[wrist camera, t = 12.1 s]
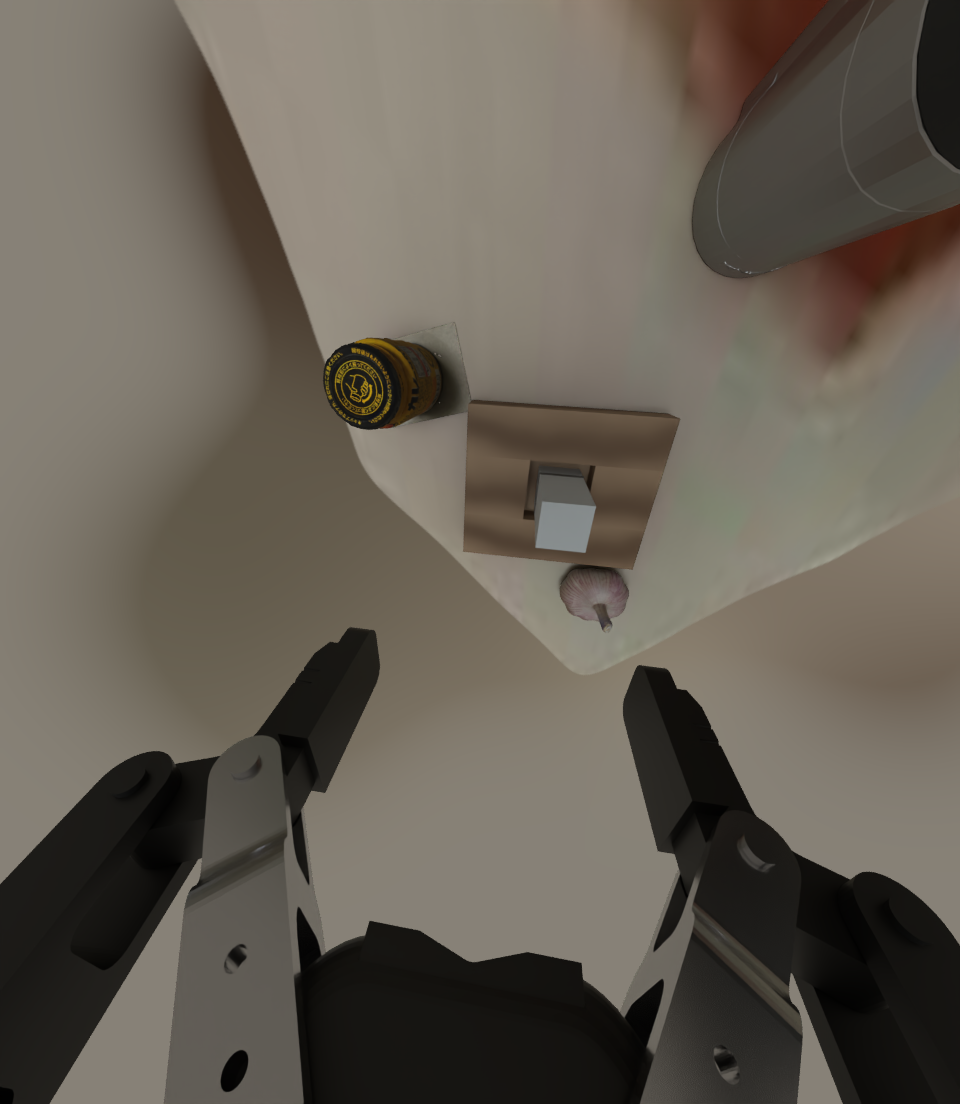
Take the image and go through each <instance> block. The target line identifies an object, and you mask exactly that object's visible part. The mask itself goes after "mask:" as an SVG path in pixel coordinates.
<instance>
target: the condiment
mask: <svg viewBox="0 0 960 1104" xmlns="http://www.w3.org/2000/svg"><path fill="white" fill-rule="evenodd" d="M434 353H436V355H435V354H434ZM438 355H441V357H439V356H438ZM323 382H324V389H325V392H326V395H327V399H328V401H329V403H330V406H331V407H332V408H333V409H334V411H335V412H336V414H337V415H338V416H340V417H341V418H342V419H343V420H344V421H346V422H347V423H349V424H350V425H351V426H354V427H357V428H360V429H367V430H372V429H378V428H380V429H383V428H394V427H399V426H403V425H407V424H412V423H416V422H421V421H425V420H430V419H435V418H440V417H444V416H449V415H453V414H458V413H462V412H467V411H468V403H470V402H471V399H470V394H469V389H468V385H467V379H466V374H465V370H464V365H463V359H462V355H461V351H460V346H459V341H458V337H457V332H456V327H455V323H454V322H453V323H450V324H446V325H442V326H439V327H435V328H431V329H429V330H425V331H421V332H417V333H414V334H411V335H407V336H404V337H400V338H396V339H393V340H391V339H388V338H384V339H381V338H366V339H362V340H359V341H356V342H355V343H354V342H353V343H350V344H348V345H344V346H341V347H340V348H338V349H337V350H335V352H334V353H333V354H332V356H331V357H330V358H329V359H328V360H327V361H326V364H325V368H324V376H323ZM439 402H440V403H439Z"/></svg>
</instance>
